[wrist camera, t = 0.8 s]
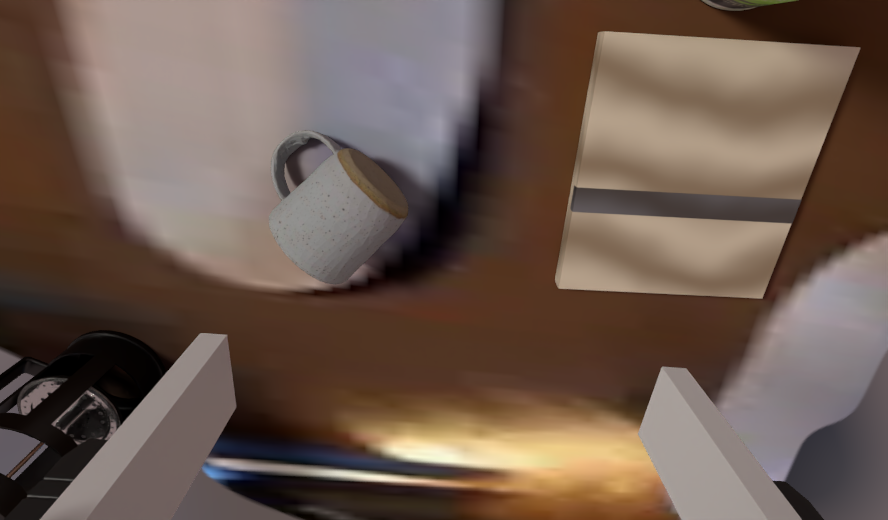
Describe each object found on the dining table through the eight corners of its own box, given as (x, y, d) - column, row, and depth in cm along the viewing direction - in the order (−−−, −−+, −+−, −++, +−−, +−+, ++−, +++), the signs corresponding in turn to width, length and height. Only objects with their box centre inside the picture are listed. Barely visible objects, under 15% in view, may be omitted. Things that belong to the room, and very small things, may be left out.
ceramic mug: (419, 198, 38) (411, 229, 31) (354, 260, 40) (333, 303, 33) (320, 101, 35) (287, 111, 28) (256, 175, 37) (211, 202, 30)
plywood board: (598, 32, 33) (605, 31, 31) (843, 47, 33) (861, 47, 32) (554, 280, 41) (558, 288, 40) (751, 290, 41) (762, 298, 40)
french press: (185, 358, 44) (-45, 630, 24) (158, 422, 48) (-64, 709, 27) (60, 306, 42) (-322, 557, 21) (41, 377, 45) (-304, 654, 24)
